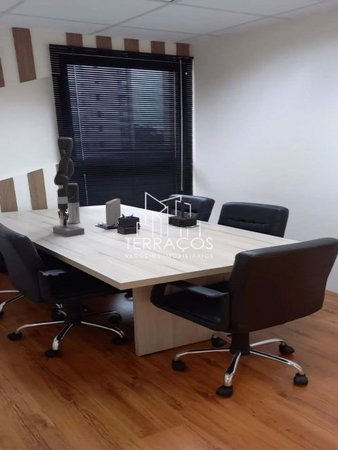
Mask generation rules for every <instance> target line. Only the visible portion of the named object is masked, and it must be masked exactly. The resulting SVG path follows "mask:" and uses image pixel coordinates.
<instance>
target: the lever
mask: <svg viewBox="0 0 338 450" xmlns="http://www.w3.org/2000/svg"><path fill="white" fill-rule="evenodd" d="M64 219H65V218H64ZM68 224H69V219H68V220H67V225H66V226H68ZM59 226H62V227H63V226H64V222H63V218H60V219H59Z"/></svg>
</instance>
